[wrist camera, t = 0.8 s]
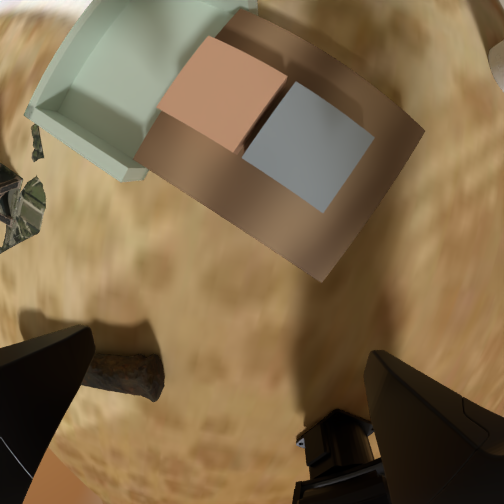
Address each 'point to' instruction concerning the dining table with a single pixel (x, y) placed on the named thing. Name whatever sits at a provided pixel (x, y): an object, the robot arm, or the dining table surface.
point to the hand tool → (127, 375)
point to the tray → (122, 74)
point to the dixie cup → (497, 63)
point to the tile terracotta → (223, 93)
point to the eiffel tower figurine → (21, 201)
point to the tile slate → (308, 146)
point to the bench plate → (266, 188)
